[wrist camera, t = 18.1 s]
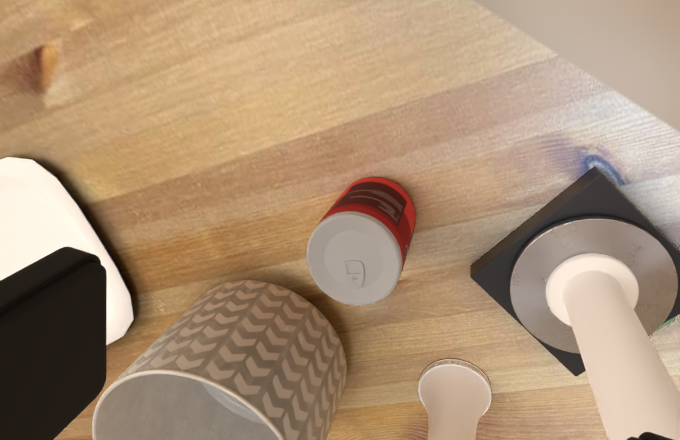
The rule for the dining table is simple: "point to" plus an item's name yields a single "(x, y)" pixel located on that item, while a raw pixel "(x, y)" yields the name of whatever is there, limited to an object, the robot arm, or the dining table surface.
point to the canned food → (362, 242)
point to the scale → (574, 239)
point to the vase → (454, 398)
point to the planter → (232, 372)
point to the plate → (53, 232)
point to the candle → (615, 346)
